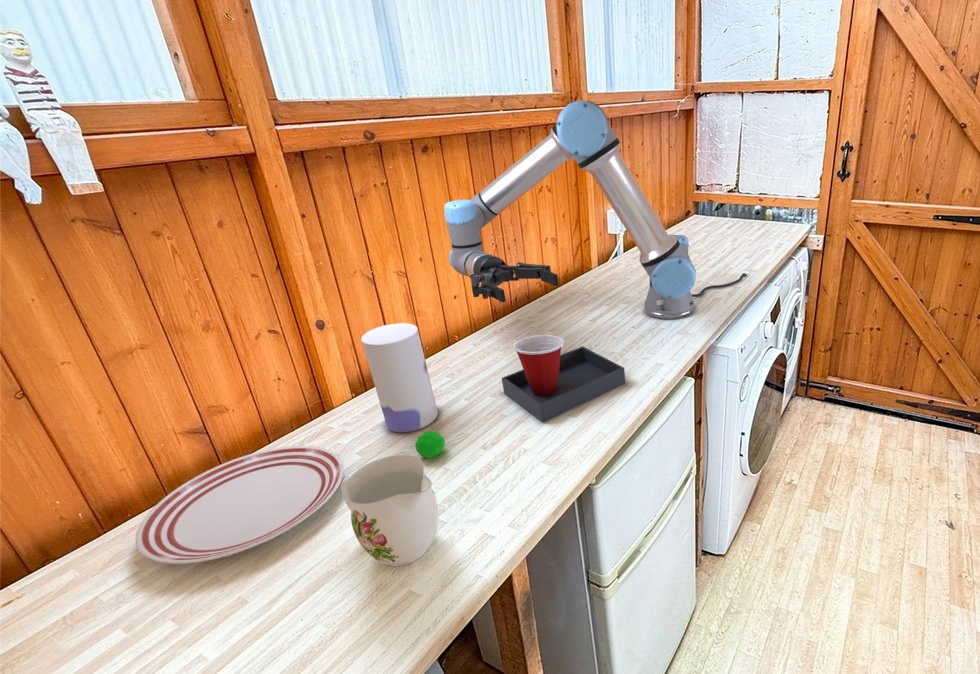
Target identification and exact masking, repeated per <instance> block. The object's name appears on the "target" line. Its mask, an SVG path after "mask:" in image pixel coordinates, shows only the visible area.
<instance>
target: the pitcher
mask: <svg viewBox="0 0 980 674" xmlns="http://www.w3.org/2000/svg"><path fill="white" fill-rule="evenodd" d="M425 470H426V469H425V463H424V461H423V460H422V459H421V458H419V457H417V456H415V455H411V454H394V455H389V456H384V457H382V458H381V457H380V458H378V459H375V460H373V461H371V462H369V463H367V464H365V465H363V466H362V467H361V468H359V469H358V470H356V471H355V472H354V473H352V474H351V475H348V476H347V477H345V478H344V479H342V480H341V483H340V491H341V494H342V497H343V500H344V502H345V505H346V506H347V508H348V509H349V510H350V522H351V527H352V530H353V534H354V535H355V537H356V539H357V541H358V543H359V544H360V546H361V548H363V549H364V550H365V552H366V553H367V554H368V555H370V556H371V557H372V558H374V559H375V560H376V561H378V562H380V563H382V564H385V565H389V566H393V567H400V566H405V565H408V564H411V563H413V562H415V561H417V560H418V559H420V558H422V556H424V554H425V553H426V552H427V551H428V550H429V548H430V547H431V545H432V543H433V541H434V538H435V536H436V533H437V528H438V521H439V507H438V501H437V498H436V494H435V492H434V490H433V488H432V484H433V483H432V481H431V479H430V477H428V476H427V475H426V474H425V472H426V471H425Z"/></svg>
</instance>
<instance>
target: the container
mask: <svg viewBox="0 0 980 674" xmlns="http://www.w3.org/2000/svg"><path fill="white" fill-rule="evenodd" d="M360 339H361V344H362V347H363V351H364V354H365V358H366V360H367V364H368V367H369V371H370V375H371V378H372V381H373V385H374V388H375V390H376V395H377V398H378V401H379V404H380V408H381V412H382V415H383V418H384V421H385V425H386V427H387V429H388V430H390V431H391V432H394V433H410V432H414V431H418V430H421V429H423V428H425V427H427V426H429V425H430V424H431V423H433V422H434V421H435V420H436V419H437V417H438V415H439V410H438V407H437V403H436V399H435V394H434V390H433V387H432V382H431V378H430V374H429V371H428V370H429V369H428V366H427V363H426V359H425V353H424V350H423V345H422V341H421V337H420V334H419V329H418V326H416V325H415V324H412V323H406V322H403V323H402V322H398V323H390V324H385V325H380V326H377V327H375V328H372V329H370V330H369V331H367V332H365V333H364V334H363V335H362V337H361V338H360Z"/></svg>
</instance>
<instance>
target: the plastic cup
mask: <svg viewBox="0 0 980 674" xmlns="http://www.w3.org/2000/svg"><path fill="white" fill-rule="evenodd" d="M564 343H565V340H564V339H563V338H562V337H561V336H558V335H552V334H535V335H530V336H529V335H528V336H526V337H523V338H520V339H518V340H516V341H515V342H514V343H513V345H512V348H513V349H514V351H515V352H516V354H517V356H518V358H519V361H520V363H521V366H522V370H524V373H525V375H526V378H527V381H528V383H529V386H530V389H531V391H532V393H533V394H534V395H536V396H548V395H551V394H553V393H555V392H556V391H557V387H558V376H559V366H560V355H561V354H562V347H564Z"/></svg>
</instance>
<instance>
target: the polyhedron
mask: <svg viewBox="0 0 980 674" xmlns="http://www.w3.org/2000/svg"><path fill="white" fill-rule="evenodd" d="M445 444H446V441H445V437H443V436H442V434H440V432H438V431H432V430H431V431H430V430H427V431H424V432H423V433H422V434H420V435H419V436H418V437H417V438H416V442H415V445H414V447H415V450H416V452H417V454H419V455H420V456H421V457H422V458H430V459H431V458H432V459H433V458H435V457H436V456H437V455H439V454H441V453H442V451H443V449H444V447H445Z"/></svg>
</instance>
